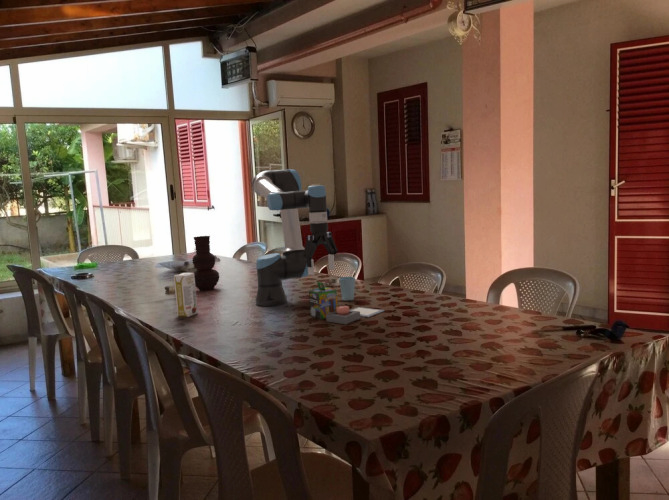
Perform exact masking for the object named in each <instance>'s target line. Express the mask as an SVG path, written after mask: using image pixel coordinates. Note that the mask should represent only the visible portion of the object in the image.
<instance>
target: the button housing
mask: <svg viewBox="0 0 669 500" xmlns="http://www.w3.org/2000/svg"><path fill="white" fill-rule="evenodd" d="M325 319H326V320H325V321H326V322H327V323H335V324H340V325H341V324H342V325H348V324H350V323H353V322H356V321H358V320H361V316H360V312H359V311H352V309H349V314H347V315H338V314H337V311H334V312H331V313H328V314H326V318H325Z"/></svg>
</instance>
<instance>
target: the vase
mask: <svg viewBox="0 0 669 500" xmlns="http://www.w3.org/2000/svg"><path fill="white" fill-rule="evenodd" d="M192 238H193V240H194V246H195V255H193V256H192V260H191V261H192V265H193V267H194V269H195V270H196V271H194V272H193V273H194V276H195V287H196V288H197V289H198V291H199V292H210V291H211V292H212V291H214V289H215V287H216V286H217V284H218V283H219V281H220V272H218V271H217V269H213V268H214V267H215V264H216V256H215V255H214V254H213V253H211V245H210V244H211V243H210V242H211V241H210V240H211V239H210V238H211V235H200V236H194V237H192Z"/></svg>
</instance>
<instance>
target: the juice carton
mask: <svg viewBox="0 0 669 500" xmlns="http://www.w3.org/2000/svg"><path fill="white" fill-rule="evenodd" d="M173 281H174V289H175V290H174V292H175V303H176V312H177V313H176V314H177V317H183V318H184V317H186V318H189V317H191V316H194V315H197V314H198V300H197V290H196V288H197V287H196V286H195V276H194V272H182V273H180V274H174V275H173Z"/></svg>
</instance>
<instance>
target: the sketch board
mask: <svg viewBox="0 0 669 500" xmlns="http://www.w3.org/2000/svg"><path fill="white" fill-rule="evenodd" d="M351 310H352V311H359V312H360V318H361V317H363V318H371V317H373V316H376V315H378V314H381V313H384V312H385V309H377V308H376V309H375V308H369V307H360V306H358V307H354V308H352V309H351Z"/></svg>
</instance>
